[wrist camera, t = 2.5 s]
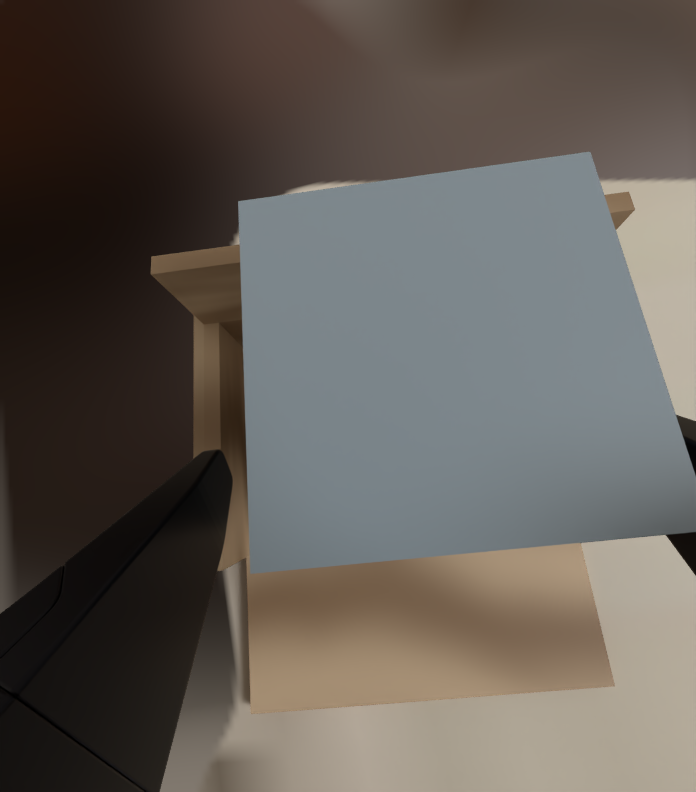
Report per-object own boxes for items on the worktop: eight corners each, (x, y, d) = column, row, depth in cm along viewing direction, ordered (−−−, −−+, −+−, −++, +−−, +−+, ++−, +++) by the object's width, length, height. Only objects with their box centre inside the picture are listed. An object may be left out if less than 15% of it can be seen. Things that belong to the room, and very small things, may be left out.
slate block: (466, 499, 16) (713, 530, 4) (340, 511, 16) (250, 573, 5) (445, 377, 17) (590, 151, 6) (329, 390, 18) (238, 201, 6)
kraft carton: (617, 678, 14) (897, 899, 7) (245, 707, 15) (107, 939, 7) (529, 316, 18) (643, 189, 10) (235, 352, 19) (138, 258, 11)
